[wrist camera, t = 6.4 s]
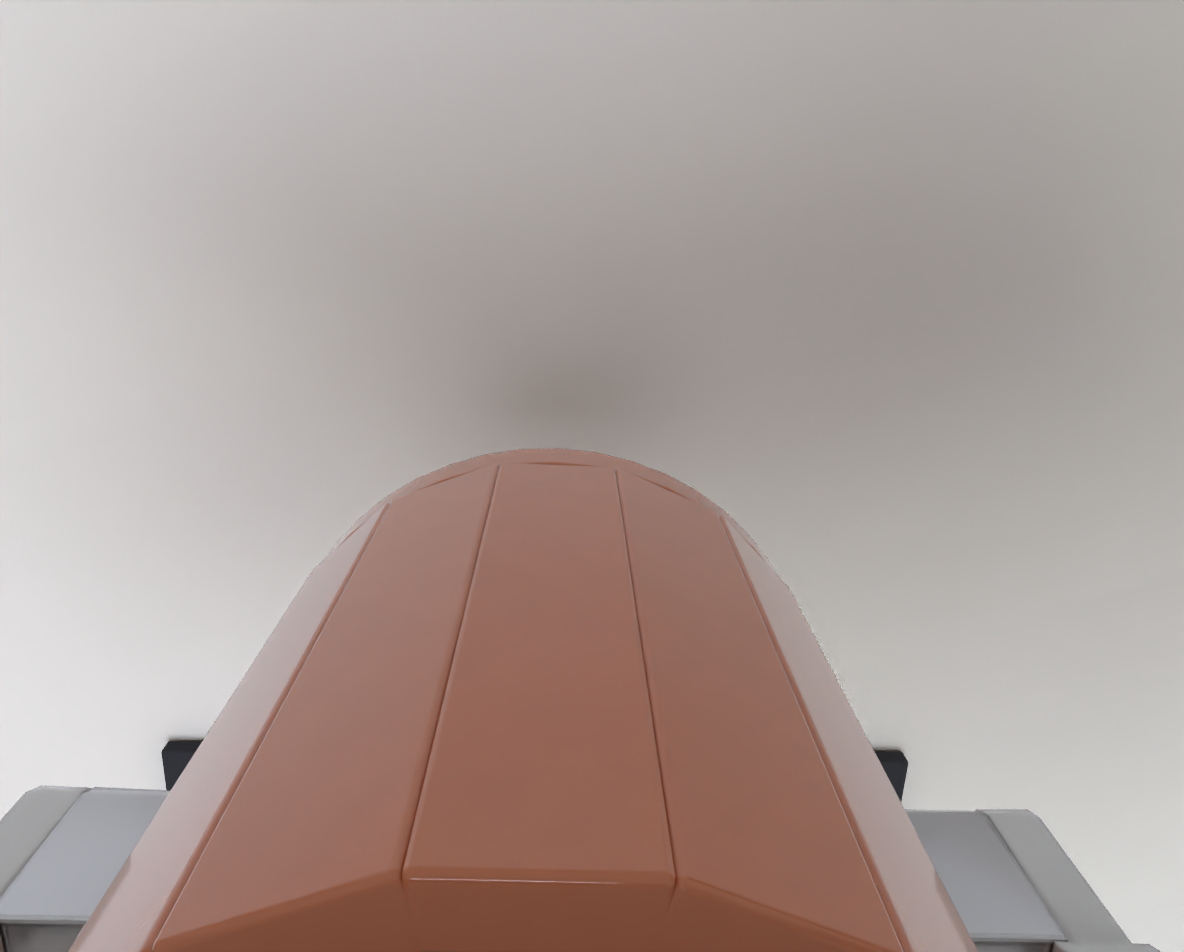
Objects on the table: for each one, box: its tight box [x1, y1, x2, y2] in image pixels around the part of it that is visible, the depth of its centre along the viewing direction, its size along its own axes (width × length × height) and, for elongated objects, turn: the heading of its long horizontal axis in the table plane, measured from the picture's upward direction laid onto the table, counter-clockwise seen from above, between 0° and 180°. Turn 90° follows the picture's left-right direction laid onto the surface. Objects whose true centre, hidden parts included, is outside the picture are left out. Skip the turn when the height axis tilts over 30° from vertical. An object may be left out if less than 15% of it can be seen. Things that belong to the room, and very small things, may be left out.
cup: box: [67, 448, 978, 952], centre depth 8 cm, size 6×6×6 cm
